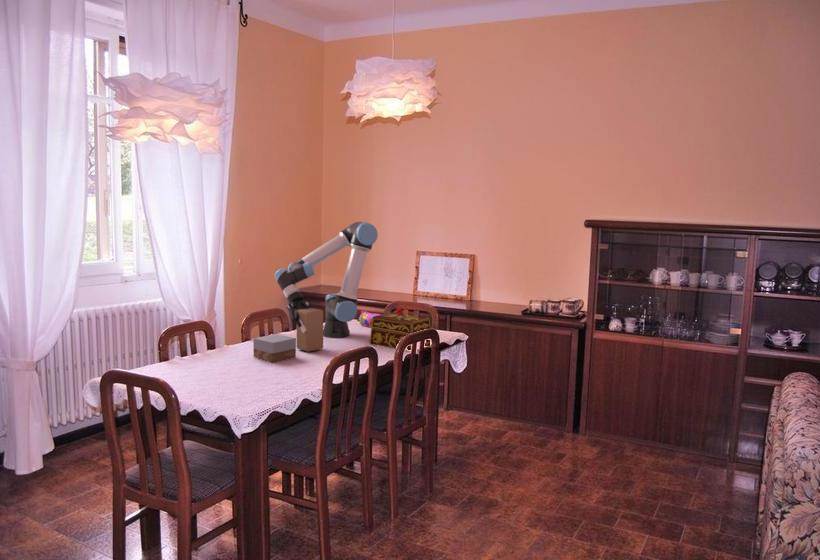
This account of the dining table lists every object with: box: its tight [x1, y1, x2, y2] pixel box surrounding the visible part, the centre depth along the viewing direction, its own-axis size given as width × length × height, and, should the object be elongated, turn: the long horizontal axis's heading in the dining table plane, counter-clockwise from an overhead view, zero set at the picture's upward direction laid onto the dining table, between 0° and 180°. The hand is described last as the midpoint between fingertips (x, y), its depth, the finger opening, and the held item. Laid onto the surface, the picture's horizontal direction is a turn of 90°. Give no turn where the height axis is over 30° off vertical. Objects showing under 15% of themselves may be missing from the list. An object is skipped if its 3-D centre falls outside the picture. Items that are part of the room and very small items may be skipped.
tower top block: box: [252, 333, 297, 353], centre depth 313 cm, size 14×14×5 cm
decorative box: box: [369, 312, 432, 350], centre depth 345 cm, size 28×19×15 cm
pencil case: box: [356, 310, 382, 328], centre depth 389 cm, size 22×9×9 cm, turn 47°
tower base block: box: [253, 347, 297, 364], centre depth 313 cm, size 14×14×5 cm
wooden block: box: [296, 307, 324, 353], centre depth 329 cm, size 10×10×20 cm
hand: (313, 330), depth 327 cm, fingers closed on wooden block, 10 cm apart
